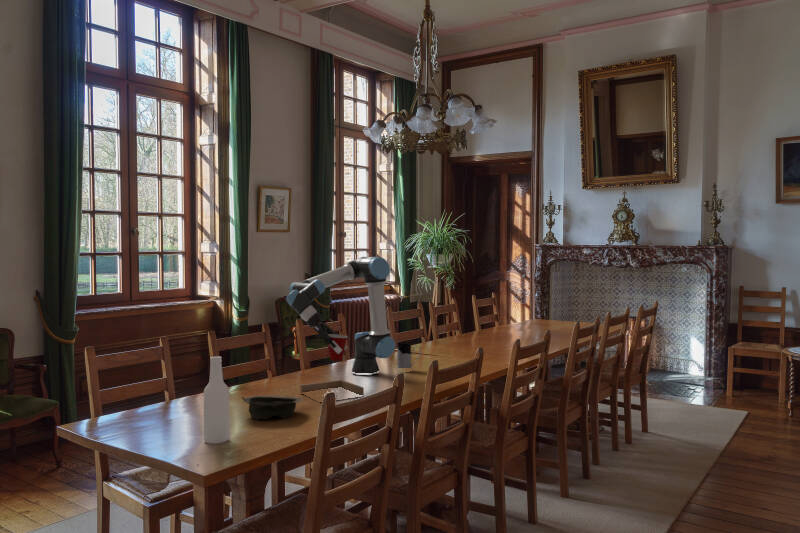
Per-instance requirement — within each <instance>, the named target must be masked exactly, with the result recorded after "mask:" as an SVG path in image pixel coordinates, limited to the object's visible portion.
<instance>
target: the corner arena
mask: <svg viewBox="0 0 800 533" xmlns="http://www.w3.org/2000/svg"><path fill="white" fill-rule="evenodd" d="M338 387H342V388H344V389H346V390H349V391H351V392H354V393H356V394H359V395H364V393H365V392H364V387H363V386H360V385H357V384H355V383H352V382H349V381H346V380H343V379H337V380H329V381H323V382H321V381H320V382H315V383H314V382H313V383H307V384H306V383H305V384H300V387H299V388H300V389H299V393H300V392H301V393H302V392H309V391H315V390H321V389H328V388H338ZM334 391H336V392H337V395H338V394H339V393H340V391H339V390H331V392H334ZM327 393H330V392H328V391H327ZM327 393H326V394H327ZM334 393H335V392H334ZM326 394H324V396H325V395H326ZM335 394H336V393H335ZM337 395H336V397H337ZM322 396H323V395H322ZM336 399H337V398H336ZM322 401H323V399H322Z"/></svg>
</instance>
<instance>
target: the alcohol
mask: <svg viewBox="0 0 800 533" xmlns="http://www.w3.org/2000/svg"><path fill="white" fill-rule="evenodd" d="M222 358H223V357H222V356H219V355H216V356H215V355H214V356H210V358H209V359H210V361H209V363H210V365H209V366H210V368H209V380H208V381H209V382H208V384H207V385H206V386H205V388H204V389H203V440H204V442H205V443H206V444H208V445H220V444H223V443H227V442H228V441H229V440H230V438H231V432H230V427H231V426H230V422H231V421H230V391H229V390H230V389H229V387H228V385H227V384H226V383H225V382H224V376H223V365H222ZM226 441H227V442H226Z"/></svg>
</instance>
